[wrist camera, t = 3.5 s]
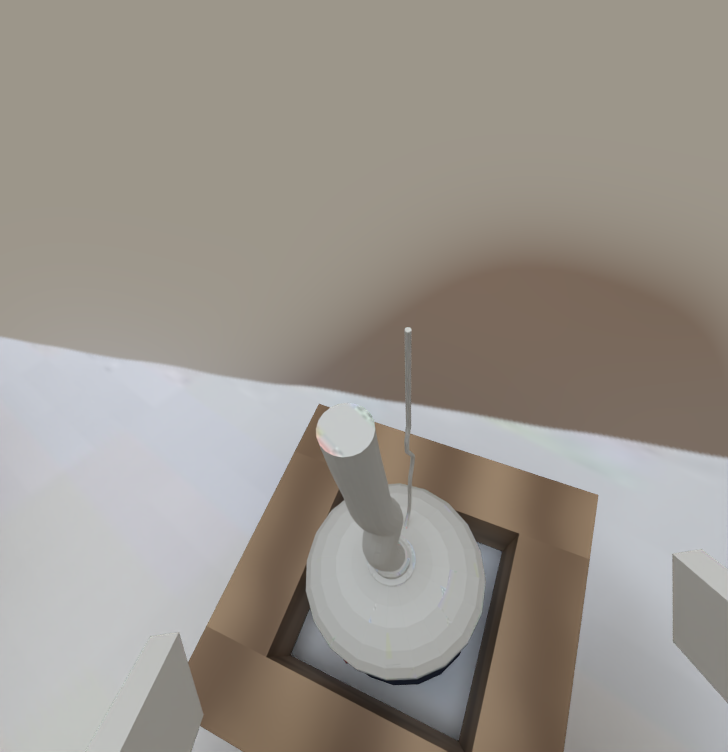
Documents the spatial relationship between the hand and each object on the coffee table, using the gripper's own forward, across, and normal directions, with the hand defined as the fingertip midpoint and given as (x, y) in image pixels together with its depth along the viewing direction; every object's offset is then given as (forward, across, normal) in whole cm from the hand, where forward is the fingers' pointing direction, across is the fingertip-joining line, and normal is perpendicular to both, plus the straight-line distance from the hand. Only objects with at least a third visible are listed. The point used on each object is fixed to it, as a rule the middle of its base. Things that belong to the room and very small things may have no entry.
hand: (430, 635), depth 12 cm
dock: (+13, -1, -10) cm, 16 cm away
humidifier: (+13, -1, -10) cm, 16 cm away
